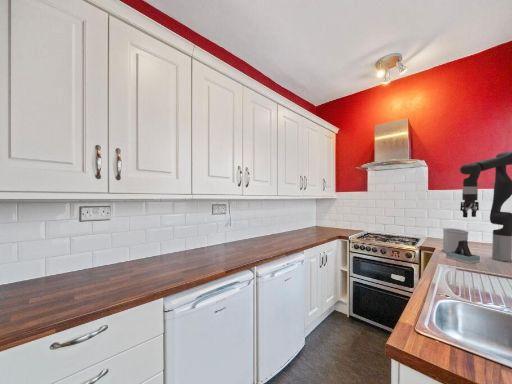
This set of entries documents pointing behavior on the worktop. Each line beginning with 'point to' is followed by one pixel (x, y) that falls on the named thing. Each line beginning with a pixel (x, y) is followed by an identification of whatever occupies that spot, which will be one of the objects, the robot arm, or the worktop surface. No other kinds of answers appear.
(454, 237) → the utensil holder
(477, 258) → the socket base
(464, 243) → the black v-shaped piece
